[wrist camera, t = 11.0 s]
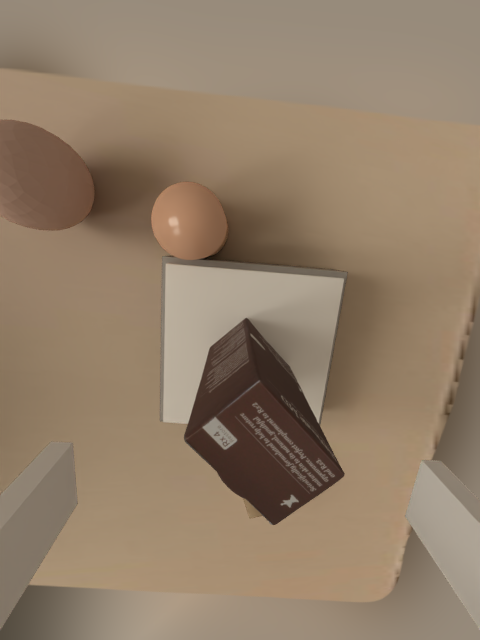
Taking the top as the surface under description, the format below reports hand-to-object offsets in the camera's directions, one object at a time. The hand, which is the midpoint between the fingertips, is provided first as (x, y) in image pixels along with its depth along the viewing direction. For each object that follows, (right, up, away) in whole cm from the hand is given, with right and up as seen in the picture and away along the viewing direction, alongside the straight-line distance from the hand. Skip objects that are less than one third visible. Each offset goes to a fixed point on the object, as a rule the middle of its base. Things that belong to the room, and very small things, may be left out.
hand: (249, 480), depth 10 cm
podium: (0, +4, +16) cm, 17 cm away
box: (+1, +3, +13) cm, 13 cm away
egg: (-15, +17, +13) cm, 26 cm away
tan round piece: (-4, +14, +14) cm, 20 cm away
